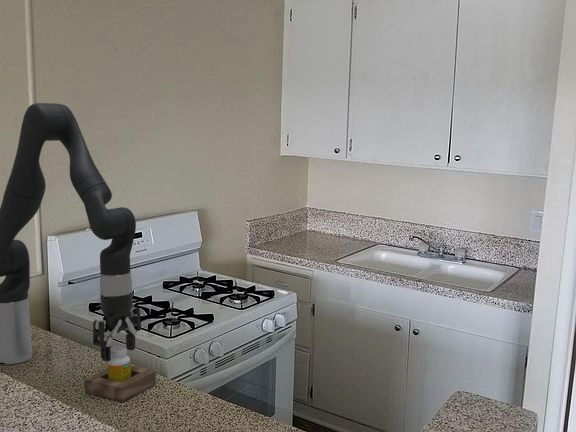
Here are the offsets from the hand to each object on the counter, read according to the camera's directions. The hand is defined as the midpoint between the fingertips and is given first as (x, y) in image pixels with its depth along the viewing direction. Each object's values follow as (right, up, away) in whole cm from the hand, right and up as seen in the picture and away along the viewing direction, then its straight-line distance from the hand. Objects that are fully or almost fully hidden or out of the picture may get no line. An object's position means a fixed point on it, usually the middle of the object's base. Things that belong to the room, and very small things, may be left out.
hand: (118, 355), depth 163 cm
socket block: (0, -9, +1) cm, 9 cm away
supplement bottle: (0, -8, +1) cm, 8 cm away
